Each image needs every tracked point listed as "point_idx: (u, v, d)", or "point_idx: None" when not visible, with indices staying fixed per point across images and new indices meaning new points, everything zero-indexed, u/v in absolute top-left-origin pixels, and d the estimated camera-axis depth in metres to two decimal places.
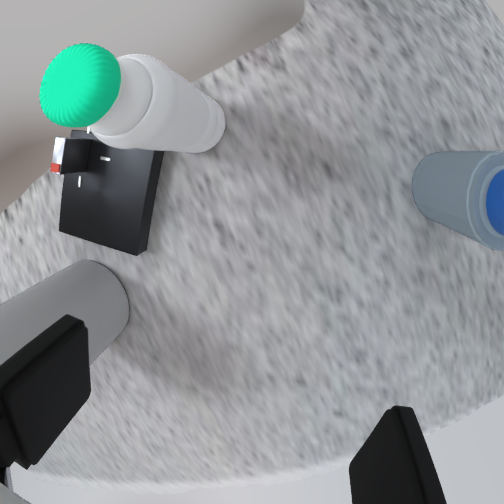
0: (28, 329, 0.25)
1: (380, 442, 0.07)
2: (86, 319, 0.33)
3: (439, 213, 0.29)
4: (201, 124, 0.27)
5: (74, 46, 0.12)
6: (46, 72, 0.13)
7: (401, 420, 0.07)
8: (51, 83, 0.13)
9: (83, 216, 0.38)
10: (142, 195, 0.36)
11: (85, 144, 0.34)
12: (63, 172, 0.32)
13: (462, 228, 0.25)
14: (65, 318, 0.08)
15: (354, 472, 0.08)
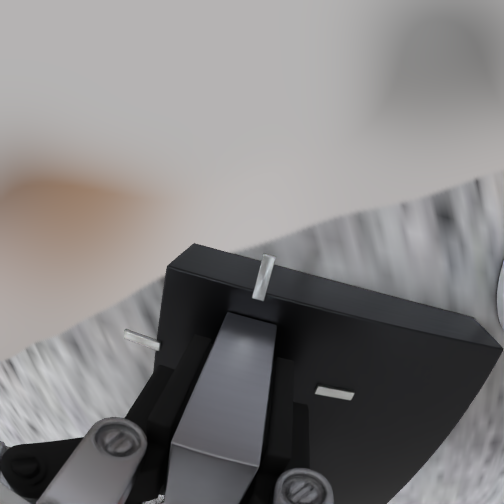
0: None
1: None
2: None
3: None
4: None
5: None
6: None
7: (278, 371, 0.09)
8: None
9: None
10: (421, 458, 0.11)
11: None
12: None
13: None
14: (196, 339, 0.09)
15: None
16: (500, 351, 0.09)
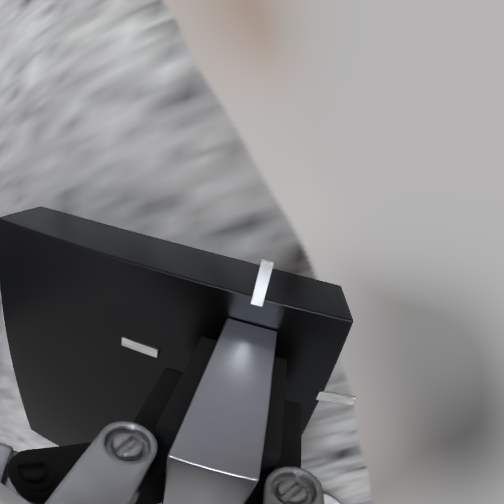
0: None
1: None
2: None
3: None
4: None
5: None
6: None
7: None
8: None
9: (47, 331, 0.11)
10: None
11: None
12: None
13: None
14: (203, 341, 0.09)
15: None
16: None
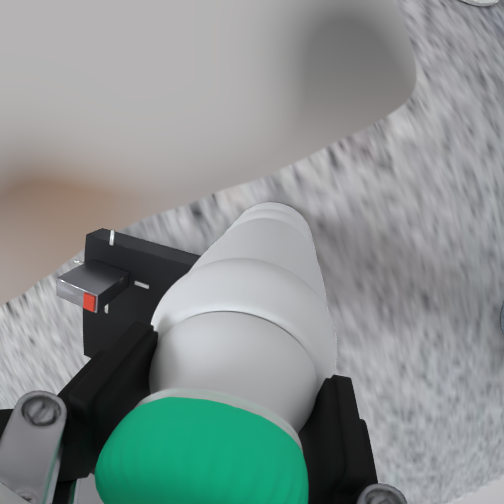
0: None
1: (317, 410, 0.08)
2: None
3: None
4: None
5: (188, 480, 0.04)
6: (108, 491, 0.05)
7: (337, 388, 0.08)
8: None
9: None
10: None
11: (90, 264, 0.27)
12: (99, 291, 0.23)
13: None
14: (136, 324, 0.09)
15: None
16: None
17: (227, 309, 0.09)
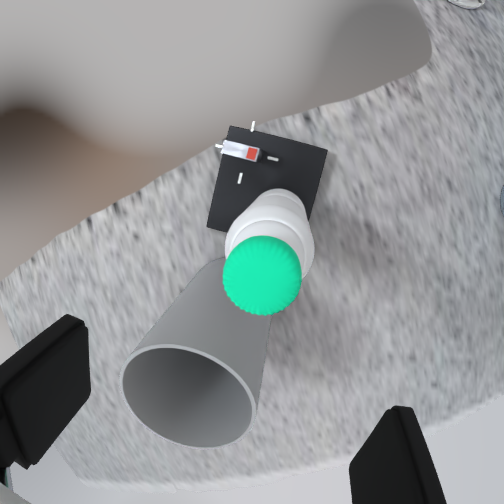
0: (241, 327, 0.30)
1: (380, 442, 0.07)
2: None
3: None
4: None
5: (265, 247, 0.18)
6: (233, 266, 0.18)
7: (401, 420, 0.07)
8: (242, 280, 0.19)
9: (241, 213, 0.43)
10: (311, 196, 0.41)
11: None
12: (258, 148, 0.36)
13: None
14: (65, 318, 0.08)
15: (354, 472, 0.08)
16: (326, 150, 0.39)
17: (267, 219, 0.23)
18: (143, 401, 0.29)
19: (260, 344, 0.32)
